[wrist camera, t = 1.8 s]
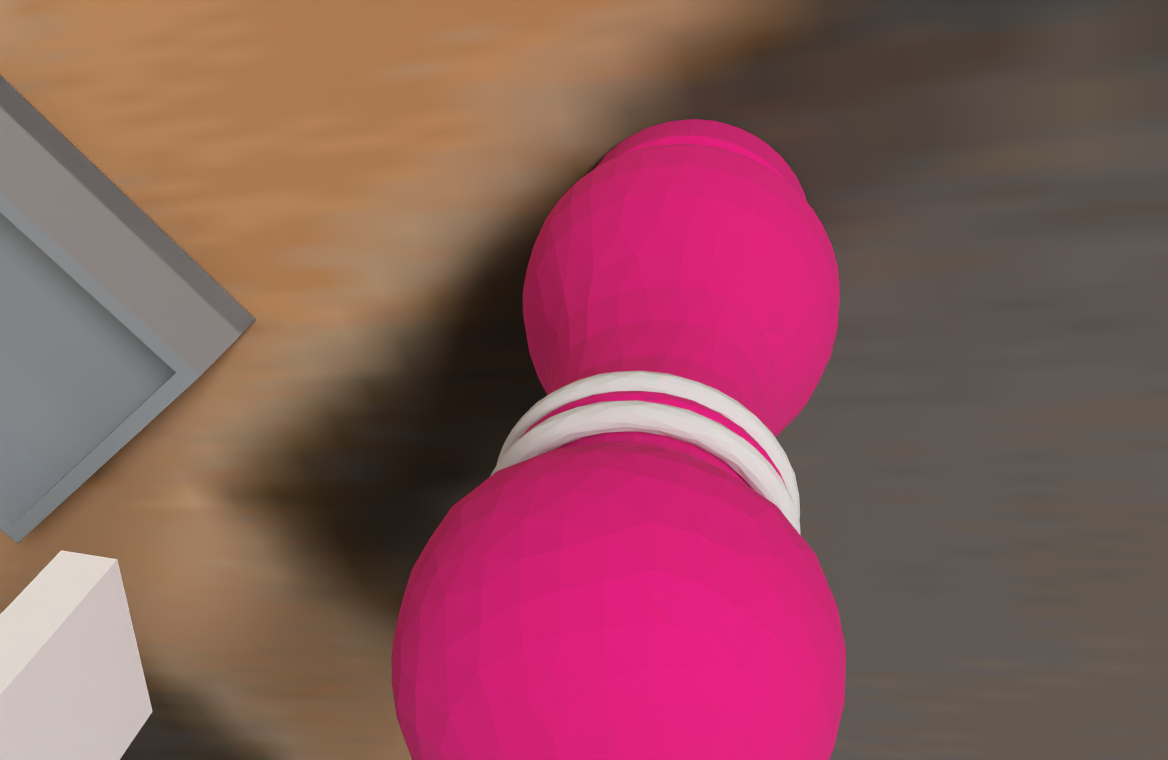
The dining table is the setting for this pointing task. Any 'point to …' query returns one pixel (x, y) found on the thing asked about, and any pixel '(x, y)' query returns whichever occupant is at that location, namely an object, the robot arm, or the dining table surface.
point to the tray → (86, 317)
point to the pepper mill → (644, 485)
